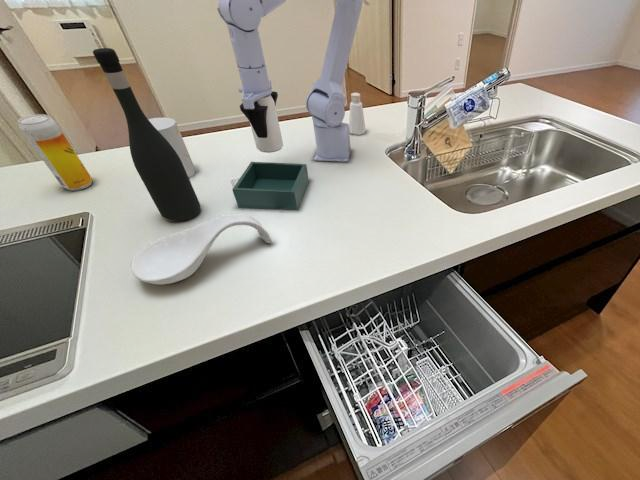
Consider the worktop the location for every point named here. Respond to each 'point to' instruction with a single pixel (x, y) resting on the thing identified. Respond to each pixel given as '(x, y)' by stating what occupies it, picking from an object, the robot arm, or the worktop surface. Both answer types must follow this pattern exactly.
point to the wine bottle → (151, 149)
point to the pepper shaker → (356, 116)
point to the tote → (271, 186)
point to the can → (269, 128)
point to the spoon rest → (185, 249)
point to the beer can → (55, 151)
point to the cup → (174, 141)
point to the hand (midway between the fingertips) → (266, 131)
